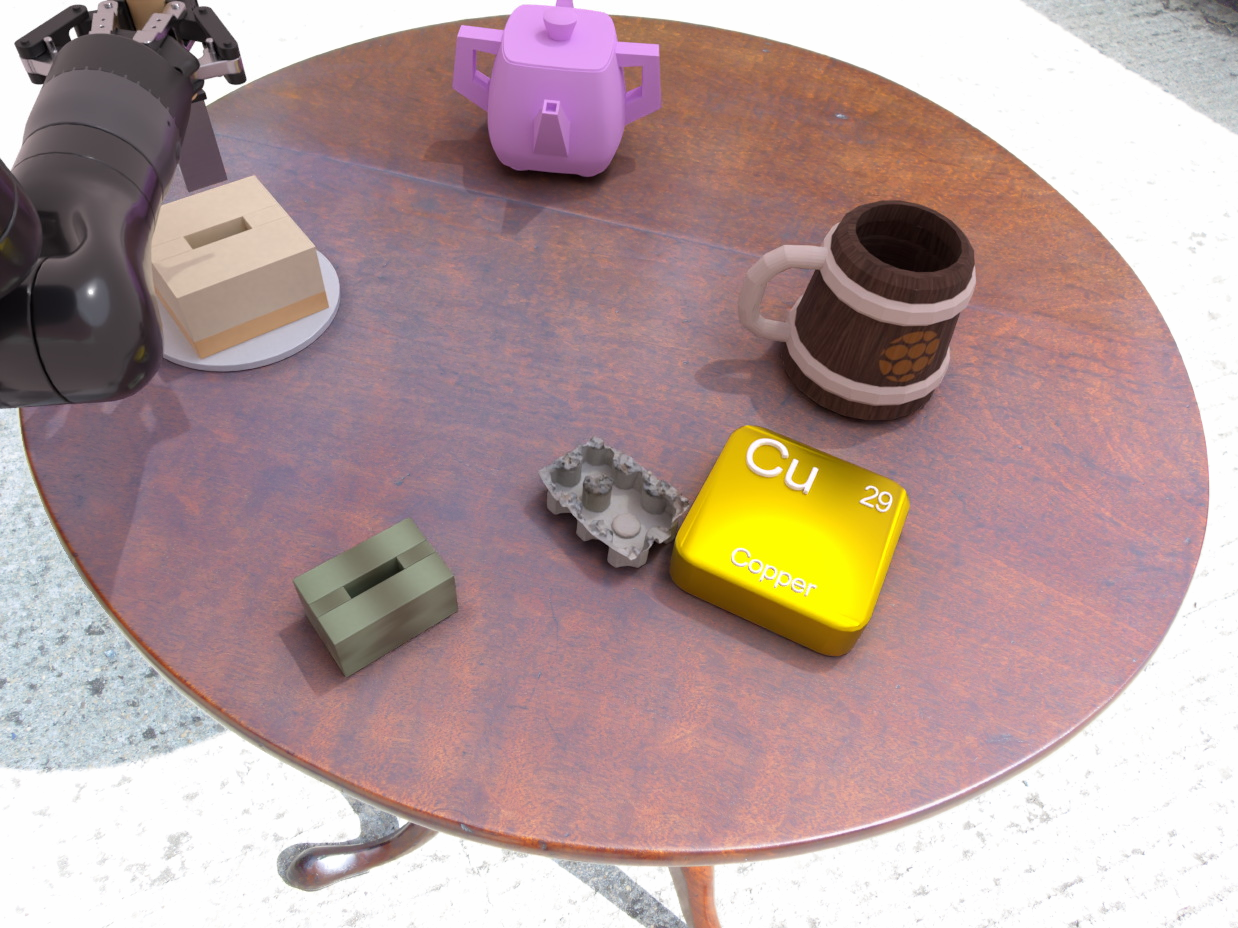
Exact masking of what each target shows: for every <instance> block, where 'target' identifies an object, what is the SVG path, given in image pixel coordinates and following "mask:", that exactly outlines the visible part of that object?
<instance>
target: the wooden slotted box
mask: <svg viewBox="0 0 1238 928" xmlns="http://www.w3.org/2000/svg"><path fill="white" fill-rule="evenodd" d="M316 249H317V246H316V245H315V244H314V243H313V242H312V241H311V239H310V238H309V237H308V236H307V234H306V233H305V232H304V231H303V230H302V229H301V228H300V226H299V225H298V224H297V223H296V221H294V220H293V218H292V217H291V216H290V215H289V214H288V213H287V211H286V210H285V209H284V208H283V206H282V205H281V204H280V203H279V202H278V201H277V200H276V199H275V197H274V196H273V195H272V194H271V193H270V192H269V190H268V189H267V188H266V186H265V185H263V183H262V182H261V181H260V179H259V178H257V176H256V175H255V174H254V175H250V176H247V177H244V178H241V179H238V180H235V181H233V182H232V181H231V182H228V183H225V184H222V185H219V186H216V187H213V188H211V189H207V190H204V191H201V192H198V193H195V194H192V195H188V196H186V197H183V198H180V199H177V200H176V199H175V200H174V201H170V202H168V203H164V204H162V205H161V208H160V212H159V216H158V220H157V223H156V227H155V231H154V234H153V238H152V243H151V261H152V275H153V284H154V289H155V293H156V295H157V296H158V298H159V299H160V301H161V302H162V304H163V305H164V306H165V308H166V309H167V311H168V312H169V314H170V315H171V317H172V318H173V320H174V321H175V323H176V324H177V325H178V327H179V328H180V330H181V331H182V333H183V334H184V336H185V337H186V339H187V340H188V341H189V343H190V344H191V346H192V347H193V349H194V350H195V352H196V353H197V355H198V356H199V358H200V359H203V358H206V357H208V356H211V355H213V354H216V353H218V352H221V351H223V350H225V349H228V348H230V347H233V346H235V345H238V344H240V343H243V342H245V341H248V340H250V339H252V338H255V337H257V336H260V335H262V334H265V333H267V332H270V331H272V330H275V329H277V328H280V327H282V326H284V325H287V324H289V323H292V322H294V321H297V320H299V319H302V318H304V317H307V316H309V315H312V314H314V313H316V312H319V311H321V310H324V309H326V308H329V304H328V300H327V295H326V291H325V287H324V282H323V278H322V273H321V269H320V264H319V260H318V255H317V251H316Z"/></svg>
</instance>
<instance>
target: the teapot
mask: <svg viewBox="0 0 1238 928" xmlns="http://www.w3.org/2000/svg"><path fill="white" fill-rule="evenodd" d="M478 51H479V52H482V53H486V54H491V55H495V58H494V62H493V66H492V70H491V74H490V77H488V76H487V75H485V74H484V73H482V72H481V71H479V70H478V69H477V55H478V54H477V52H478ZM454 54H455V55H454V65H453V76H452V85H451V86H452V87H451V88H452V89H453V90H455V91H456V92H457V93H459V94H460V95H462V96H463V97H465V98H466V99H468V100H469V101H471V102H472V103H473V104H475V105H476V106H478V107H479V108H481V109H482V110H484V111H485V112H486V113H487V128H488V136H489V140H490V143H491V146H492V149H493V151H494V153H495V155H496V157H497V159H498V160H499V162H501V164H503V165H504V166H507V167H509V168H511V169H513V170H515V171H522V172H523V171H528V170H529V171H537V172H544V173H545V172H546V173H556V174H569V175H578V176H581V177H584V178H585V177H586V178H589V177H595V176H596V175H598V174H601V173H602V172H604V171H606V169H607V168H608V167H609V166H610V164H611V163H612V160H613V159H614V157H615V155H616V152H617V151H618V148H619V146H620V144H621V141H622V137H623V135H624V131H625V128H626V126H628V125H629V124H631V123H633V122H635V121H638V120H639V119H642V118H643V117H646V116H648V115H650V114H652V113H654V112H657V111H658V110H661V109H662V87H661V63H660V61H661V60H660V44H659V43H658V44H656V43H644V42H630V41H629V42H628V41H619V40H618V36H617V31H616V28H615V24H614V20H613V19H612V17H611V16H610V15H609V14H608V13H606V12H605V11H599V10H592V9H586V8H577V7H575V5H574V0H556V1H555V5H546V4H521V5H518V6H517V7H516V8H515V9H514V10H513V11H512V12H511V14H510V15H509V17H508V19H507V21H506V24H505V25H504V29H497V28H488V27H481V26H473V25H467V24H461V25H460V27H459V30H458V33H457V36H456V44H455V53H454ZM626 67H628V68H629V67H630V68H631V67H642V68H641V69H642V70H641V85H640V86H637V87H635V88H633V89H631V90H628V91H626V88H627V87H626V80H625V71H624V68H626Z"/></svg>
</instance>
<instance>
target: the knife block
mask: <svg viewBox="0 0 1238 928" xmlns="http://www.w3.org/2000/svg"><path fill="white" fill-rule="evenodd" d="M292 582H293V585H294V588H295V590H296V593H297V596H298V599H299V601H300V603H301V606H302V609H303V611H304V613H305V616H306V618H307V619H308V621H309V622H310V624H311V625H312V627H313V629H314V630H315V632H316V633H317V635H318V636H319V638H320V640H321V641H322V642H323V644H324V646H325V647H326V649H327V651H328V652H329V654H330V655H331V657H332V658H333V660H334V662H335V663H336V665H337V666H338V667H339V669H340V671H341V672H342V674H343V676H344V677H345V678H349V677H350V676H352V675H353V674H355V673H357V672H358V671H360V670H362V669H363V668H365V667H367V666H368V665H370V664H372V663H373V662H376V661H377V660H379V659H380V658H382V657H384V656H385V655H387V654H388V653H390V652H392V651H393V650H395V649H397V648H398V647H400V646H402V645H403V644H405V643H407V642H409V641H410V640H412V639H413V638H415V637H417V636H419V635H420V634H422V633H424V632H425V631H427V630H429V629H430V628H432V627H434V626H435V625H437V624H439V623H440V622H442V621H444V620H445V619H447V618H449V617H450V616H452V615H453V614H455V613H457V612H458V611H459V607H458V606H459V605H458V604H459V603H458V595H457V589H456V579H455V574H454V573H453V571H452V570H451V569H450V568H449V566H448V564H446V563H445V561H444V560H443V558H442V557H441V556H440V554H439V553H438V552H437V550H436V549H435V548H434V546H433V545H432V544H431V542H430V541H429V540H428V539H427V538H426V536H425V534H424V533H423V532H422V530H421V529H420V528H419V527H418V525H417V524H416V523H415V522H414V520H413V519H412V517H410V516H409V517H407V518H405V519H403V520H400V521H399V522H397V523H395V524H393V525H391V526H390V527H388V528H385V529H384V530H382V531H380V532H378V533H376V534H374V535H373V536H371V537H368V538H367V539H365V540H363V541H362V542H360V543H358V544H356V545H354V546H352V547H350V548H349V549H346V550H345V551H343V552H341V553H339V554H338V555H336V556H333V557H332V558H330V559H327V560H326V561H324V562H323V563H320V564H319V565H317V566H315V567H313V568H311V569H309V570H307V571H305V572H304V573H301V574H300V575H298V576H296V577H294V578H293V579H292Z"/></svg>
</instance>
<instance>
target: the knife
mask: <svg viewBox="0 0 1238 928" xmlns="http://www.w3.org/2000/svg"><path fill="white" fill-rule="evenodd" d="M126 1H127V4H128V7H129V10H130V13H131V16H132V19H133V22H134V25H135V28H136V31H138V30H142V29H143V28H144V26H145V25H146V23H147V22H148V20H149V19H150V17H151V15H152V14H153V13H161V12H162V10H163V9H164V7H165V5H166V4H165V0H126ZM206 100H208V96H207V94H206V91H205V90H204V88H202V90H201V91H199V92H198V93H197V94H195V95H194V96H193V98H192V103H191V112H190V118H189V122H188V125H187V129H186V133H185V137H184V141H183V145H182V148H181V159H180V161H179V164H178V165H177V167H178V168H177V169H178V171H179V174H180V176H181V179H182V182H183V185H184V188H185V190H186V191H187V192H188V193H192V192H196V191H198V190H201V189H204V188H208V187H211V186H215V185H217V184H221V183H224V182H227V181H229V178H228V175H227V173H226V169H225V166H224V161H223V158H222V156H221V155H222V154H221V152H220V148H219V144H218V142H217V138H216V135H215V131H214V129H213V125H212V122H211V118H210V116H209V111H208V108H207V105H206Z"/></svg>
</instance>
